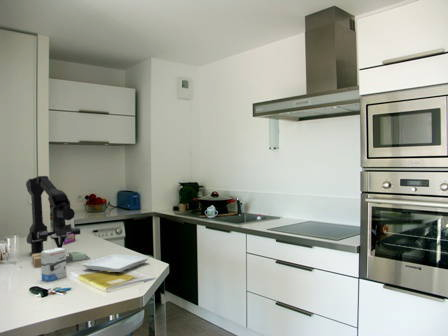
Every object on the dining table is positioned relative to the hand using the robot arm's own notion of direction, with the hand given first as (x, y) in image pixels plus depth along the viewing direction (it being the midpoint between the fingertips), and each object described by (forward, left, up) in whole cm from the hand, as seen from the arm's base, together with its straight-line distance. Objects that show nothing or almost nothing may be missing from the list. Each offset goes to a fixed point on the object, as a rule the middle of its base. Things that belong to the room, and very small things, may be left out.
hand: (59, 250), depth 185 cm
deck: (0, -5, -5) cm, 7 cm away
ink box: (+29, -7, -5) cm, 30 cm away
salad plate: (+28, +19, -6) cm, 34 cm away
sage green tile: (0, +8, -2) cm, 8 cm away
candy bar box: (-44, +11, -5) cm, 46 cm away
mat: (-1, +7, -5) cm, 9 cm away
